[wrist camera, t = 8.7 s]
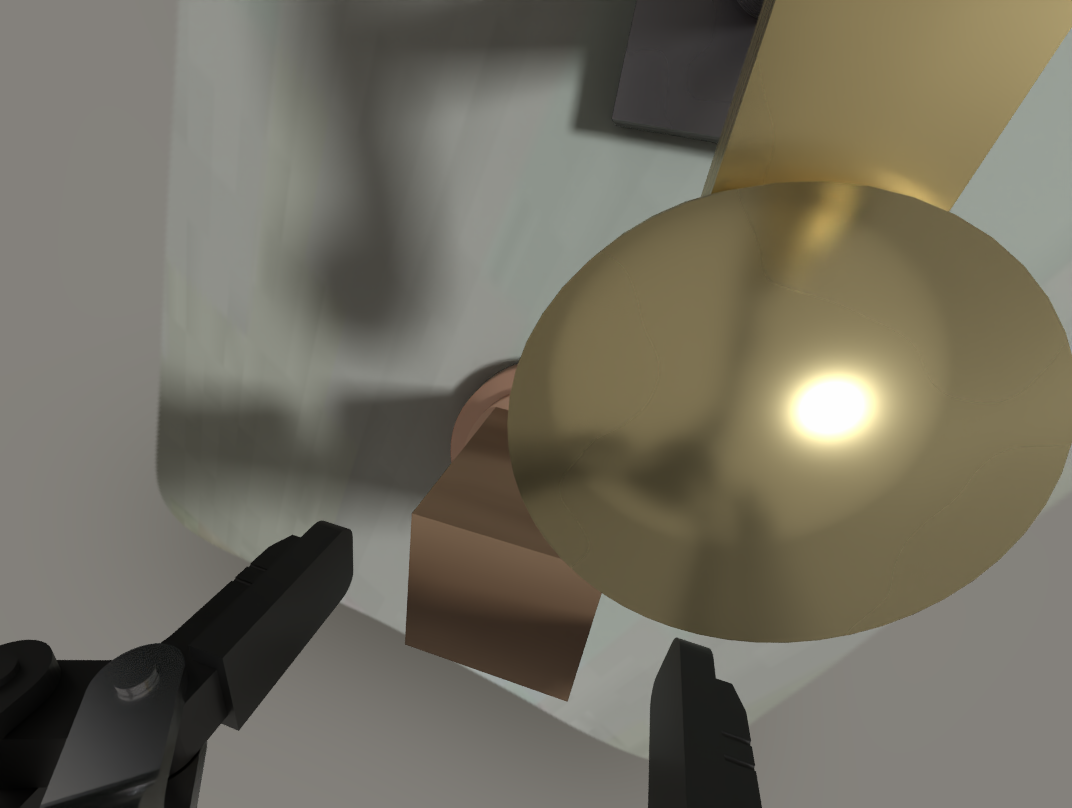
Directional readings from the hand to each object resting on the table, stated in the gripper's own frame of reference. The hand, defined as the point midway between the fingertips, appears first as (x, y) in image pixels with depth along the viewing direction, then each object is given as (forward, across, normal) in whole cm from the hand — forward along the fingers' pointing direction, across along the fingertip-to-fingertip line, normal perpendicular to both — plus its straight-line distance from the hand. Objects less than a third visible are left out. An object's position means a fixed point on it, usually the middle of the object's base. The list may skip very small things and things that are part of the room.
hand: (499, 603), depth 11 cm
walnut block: (+6, 0, 0) cm, 6 cm away
